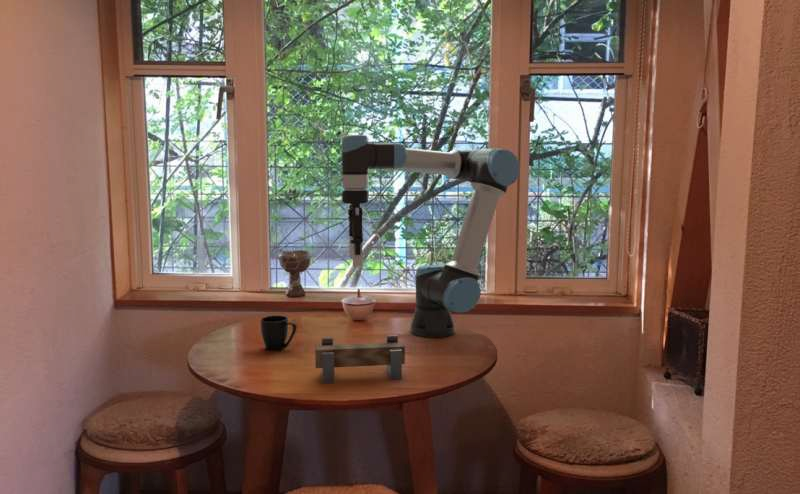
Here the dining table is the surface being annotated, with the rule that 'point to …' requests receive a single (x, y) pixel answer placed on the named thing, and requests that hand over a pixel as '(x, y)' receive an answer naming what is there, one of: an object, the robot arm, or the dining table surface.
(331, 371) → the bracket
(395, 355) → the bracket
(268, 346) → the mug
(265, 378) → the dining table surface
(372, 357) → the rail
